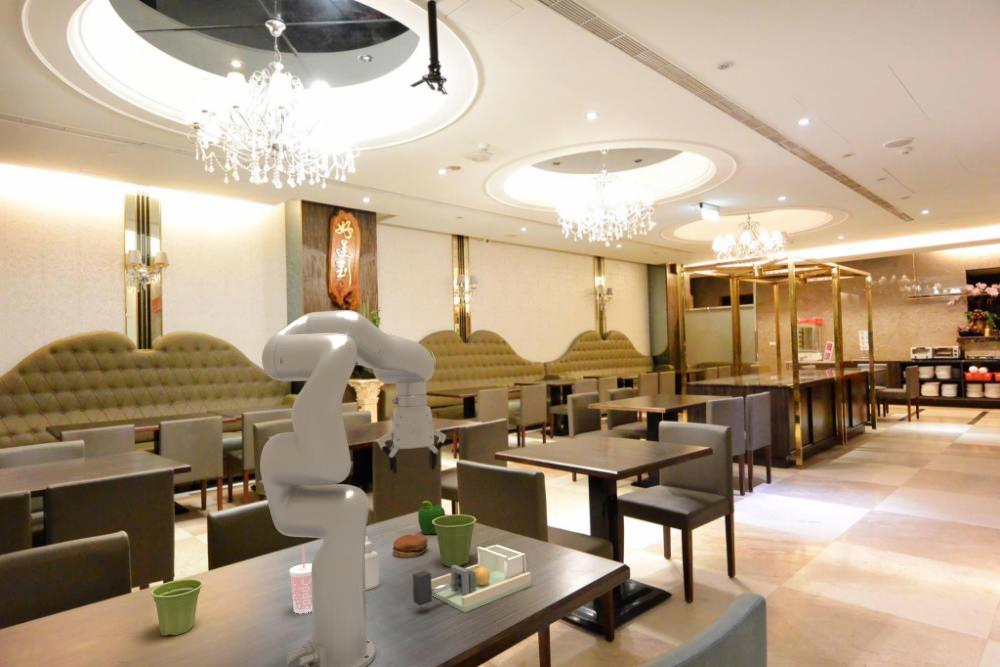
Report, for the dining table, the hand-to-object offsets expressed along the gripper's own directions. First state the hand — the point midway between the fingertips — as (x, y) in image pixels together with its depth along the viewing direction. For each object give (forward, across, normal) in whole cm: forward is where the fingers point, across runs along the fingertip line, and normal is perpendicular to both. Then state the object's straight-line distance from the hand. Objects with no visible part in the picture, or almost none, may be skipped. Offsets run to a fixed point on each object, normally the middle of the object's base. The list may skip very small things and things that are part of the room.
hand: (413, 470), depth 144 cm
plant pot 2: (+27, +12, +8) cm, 31 cm away
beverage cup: (+27, -26, -6) cm, 38 cm away
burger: (+27, +3, +21) cm, 34 cm away
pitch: (+27, +12, -13) cm, 32 cm away
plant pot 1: (+27, -51, -4) cm, 58 cm away
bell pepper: (+27, +14, +37) cm, 47 cm away
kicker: (+25, +3, -16) cm, 30 cm away
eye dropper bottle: (+27, -12, +1) cm, 30 cm away
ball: (+24, +13, -13) cm, 30 cm away
